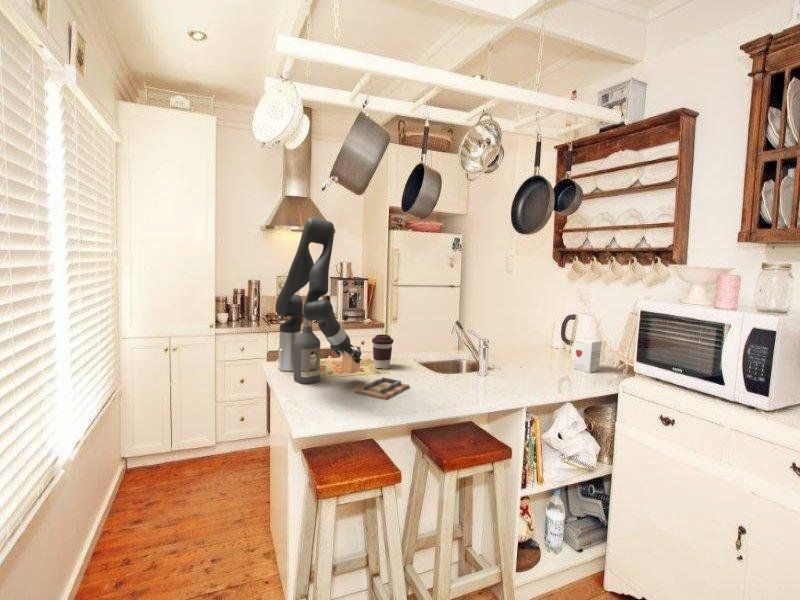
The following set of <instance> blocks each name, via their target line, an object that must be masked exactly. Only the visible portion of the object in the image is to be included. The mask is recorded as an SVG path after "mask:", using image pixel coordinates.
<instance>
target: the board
mask: <svg viewBox="0 0 800 600" xmlns="http://www.w3.org/2000/svg"><path fill="white" fill-rule="evenodd" d="M409 388H410V384H407V383H403V382H402V380H398V379H394V378H393V379H392V378H390V377H384V376H381V378H377V379H375V380H373V381H371V382H369V383H367V384H364V385H363V386H360V387H357V388H356V389H354V393H355V394H358V395H364V396H368V397H372V398H375V397H376V398H377V399H381V400H385V401H387V400H389V399H391V398H392V397H394V396H396V395H398V394H400V393H402V392H403V391H406V390H408V389H409Z"/></svg>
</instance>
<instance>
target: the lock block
mask: <svg viewBox="0 0 800 600" xmlns="http://www.w3.org/2000/svg"><path fill="white" fill-rule="evenodd" d="M353 347H355V348H357V347H358V346H357V345H353ZM359 347H360V350H361V346H359ZM352 352H353V350H352ZM352 352H351V353H352ZM354 355H355V353H354ZM341 360H342V361H341V362H342V363H341V372H342V373H345V374H349V375H351V374H355V373H357V372H360V369H361V368H360V367H361V366H360V365H361V362H360V363H359V364H358V363H356V361H355V360H354V358H353V357H350V356H349V355H348V354H347V353H343V357H342V359H341Z"/></svg>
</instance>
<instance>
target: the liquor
mask: <svg viewBox="0 0 800 600" xmlns="http://www.w3.org/2000/svg"><path fill="white" fill-rule="evenodd" d="M320 378H321V340H320V338H319V337H318V336H317V335H316V334H315V333H314V330H313V321H309V320H307V319H306V318H305V316H304V313H303V312H302V329H301V334H300V335H299V336H298V337H297V339H296V340H295V342H294V371H293V380H294V381H295V382H296V383H299V384H300V385H301V384H302V385H309V384H314V383H318V381H319V380H320Z"/></svg>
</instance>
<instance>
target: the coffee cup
mask: <svg viewBox="0 0 800 600" xmlns="http://www.w3.org/2000/svg"><path fill="white" fill-rule="evenodd" d="M371 343H373V344H372V345H373V346H372V355H373V358H372V359H373V366H375V367H378V368H383V369H382V370H387V369H389V368H390V364H391V359H392V352H393V351H392V350H393V343H394V338H392V337H391V335H389V334H382V333H380V334H376V335H375V336H374V337H373V338H372V339H371ZM375 367H374V368H375Z"/></svg>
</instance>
